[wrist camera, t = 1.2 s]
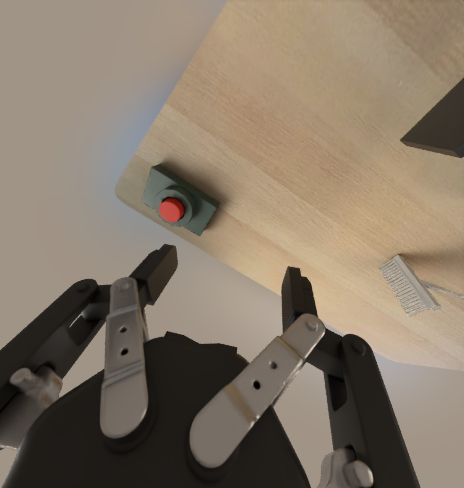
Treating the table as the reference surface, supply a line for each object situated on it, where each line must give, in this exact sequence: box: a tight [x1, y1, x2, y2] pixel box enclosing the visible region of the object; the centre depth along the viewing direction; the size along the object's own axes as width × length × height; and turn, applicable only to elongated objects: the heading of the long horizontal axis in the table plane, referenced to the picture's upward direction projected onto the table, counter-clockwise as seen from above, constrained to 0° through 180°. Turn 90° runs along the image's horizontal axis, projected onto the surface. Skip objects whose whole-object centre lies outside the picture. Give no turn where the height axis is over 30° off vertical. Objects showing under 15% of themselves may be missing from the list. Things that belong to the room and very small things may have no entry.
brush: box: [379, 255, 464, 316], centre depth 33 cm, size 4×28×9 cm, turn 68°
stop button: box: [159, 198, 184, 222], centre depth 31 cm, size 4×4×2 cm
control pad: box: [141, 164, 220, 236], centre depth 33 cm, size 12×7×4 cm, turn 60°
